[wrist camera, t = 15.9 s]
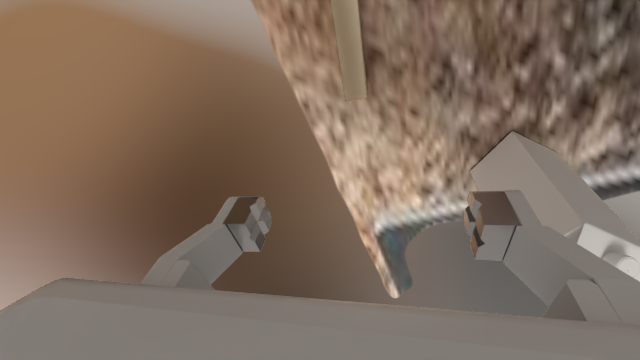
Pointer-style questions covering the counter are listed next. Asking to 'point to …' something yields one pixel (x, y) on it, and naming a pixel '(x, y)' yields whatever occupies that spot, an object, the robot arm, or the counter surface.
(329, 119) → the counter surface
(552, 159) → the milk carton
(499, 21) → the counter surface
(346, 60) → the turner
